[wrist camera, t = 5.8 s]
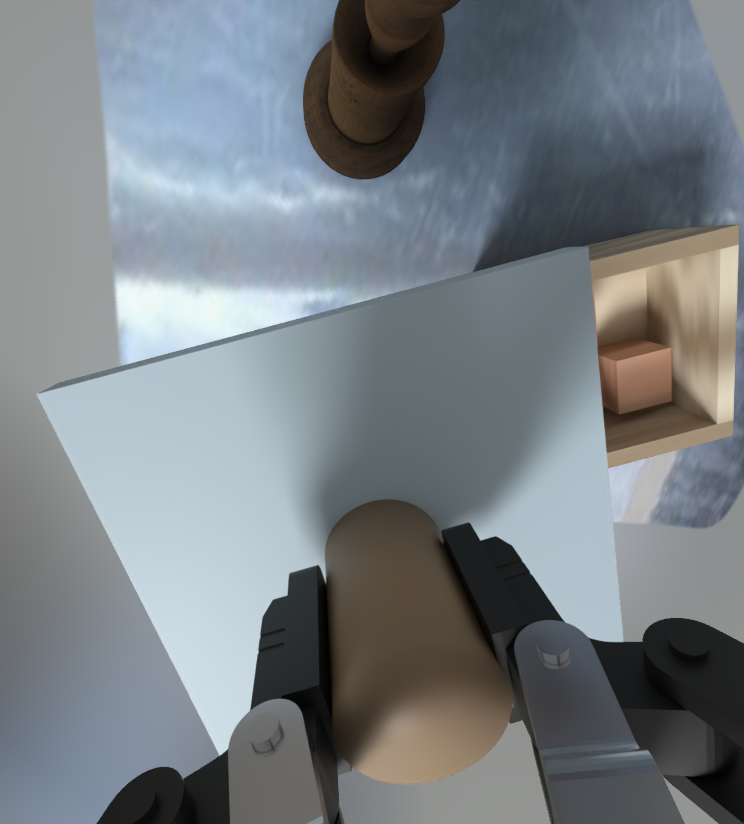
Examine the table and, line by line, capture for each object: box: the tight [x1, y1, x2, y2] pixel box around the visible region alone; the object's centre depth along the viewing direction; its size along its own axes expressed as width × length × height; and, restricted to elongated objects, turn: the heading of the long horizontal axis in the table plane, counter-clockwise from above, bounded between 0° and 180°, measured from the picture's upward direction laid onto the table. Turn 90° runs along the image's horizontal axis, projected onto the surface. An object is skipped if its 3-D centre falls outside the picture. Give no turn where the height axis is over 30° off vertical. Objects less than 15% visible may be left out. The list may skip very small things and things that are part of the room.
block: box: [597, 338, 672, 414], centre depth 31 cm, size 4×4×4 cm
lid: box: [37, 247, 623, 784], centre depth 11 cm, size 13×13×6 cm
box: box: [583, 225, 739, 468], centre depth 30 cm, size 12×12×7 cm
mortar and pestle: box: [303, 0, 460, 179], centre depth 19 cm, size 7×6×18 cm
